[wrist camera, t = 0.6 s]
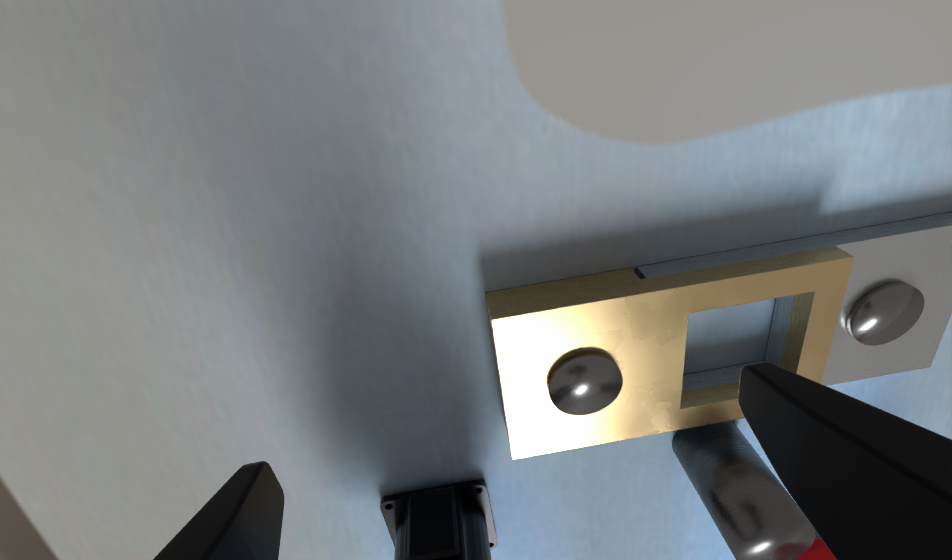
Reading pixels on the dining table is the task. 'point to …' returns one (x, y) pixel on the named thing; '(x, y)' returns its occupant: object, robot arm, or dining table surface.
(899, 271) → the lower chain link
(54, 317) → the dining table surface
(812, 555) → the beverage can
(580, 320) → the upper chain link
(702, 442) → the pin
